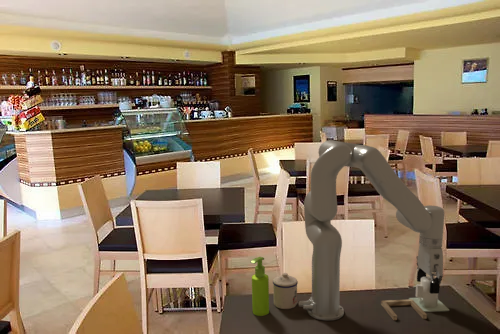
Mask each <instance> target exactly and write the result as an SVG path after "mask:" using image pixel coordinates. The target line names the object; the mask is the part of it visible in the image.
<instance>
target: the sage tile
mask: <svg viewBox="0 0 500 334" xmlns="http://www.w3.org/2000/svg"><path fill="white" fill-rule="evenodd" d="M408 299H412V300H413V301H414V302H415V303H416V304H417V305H418V306H419V307H420V308H421V309H422V310H423V311H424V312H425V313H428V312H431V313H432V312H449V311H450V309H449V308H448V307H447V306H446V305H445V304H444V303H443V302H442V301H440V300H439V299H438V306H437V307H435V308H429V307H425V306H422V305H421V304H420V303H419V301H420V298H417V297H408Z"/></svg>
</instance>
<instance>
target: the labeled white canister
mask: <svg viewBox="0 0 500 334" xmlns="http://www.w3.org/2000/svg"><path fill="white" fill-rule="evenodd" d="M435 278H436V277H434V279H435ZM430 282H431V278H430V276H426V277H422V278H421V282H419V283H420V284H419V283H418V284H415V298H420V301H419V303H420V304H421V305H422V306H425V307H429V308H435V307H437V306H438V300H439V293H437V294H431V293H430ZM440 285H442V282H441V283H440Z"/></svg>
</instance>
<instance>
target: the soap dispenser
mask: <svg viewBox="0 0 500 334" xmlns="http://www.w3.org/2000/svg"><path fill="white" fill-rule="evenodd" d="M264 260H265V257H262V256H258V257H254V258H252V260H250V263H251V264H257V265H255V267H254V274H253V275H251V301H252V302H251V303H252V304H251V305H252V314H253V315H255V316H258V317H263V316H267V315H268V314H269V313H270V293H269V292H270V290H269V289H270V288H269V287H270V285H269V281H270V280H269V275H268V274H266V269H265V265H263V261H264Z"/></svg>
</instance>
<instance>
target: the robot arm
mask: <svg viewBox="0 0 500 334" xmlns="http://www.w3.org/2000/svg"><path fill="white" fill-rule="evenodd" d="M317 153H318V158H317V159H316V161H315V162H314V163H313V166H312V168H311V173H310V191H308V192H307V194H306V195H305V197H304V200H303V211H304V212H303V213H304V227H305V228H304V229H305V234H306V237H307V238H308V240H309V241H310V243H311V244H312V255H311V256H312V257H311V296H309V299H307V300H299V301H298V300H297V306H298V307H302V308H303V310H306V311H307V314H308V315H309V316H311V317H312V318H314V319H317V320H320V321H324V322H325V321H330V322H331V321H336V320H339V319H341V318H342V317H343V316H344V314H345V309H344V307H343V306H342V305H340V290H341V288H340V286H341V285H340V284H341V283H340V279H341V278H340V276H341V275H340V274H341V273H340V272H341V271H340V268H341V264H340V263H341V252H342V247H343V240H342V236H341V234H340V232H339V230H338V229H337V228H336V227H335V226H334V225H333V224H332V223H331V221H332V220H334V219H335V218H336V216H337V213H338V201H337V200H338V199H337V196H338V195H337V177H338V175H339V173H340V171H341V170H342V169H343V168H344V167H346V168H347V167H349V168H356V169H359V170H360V171H361V172H362V173H363V174H364V175H365V177H366V178H367V179H368V181H369V182H370V183H371V185H372V187H373V188H374V189H375V190H376V192H377V193H378V194H379V195H380V196H381V197H382V198H383V199H384V200H385V201H387V202H388V203H390V204H391V205H392V206H393V207H394V208H396V212H395V216H396V219H397V222H398V223H400V224H401V225H403V226H405V227H406V228H408V229H410V230H411V231H413V232H415V233H419V236H418V239H419V242H418V252H417V256H416V265H417V267H416V271H417V272H416V273H417V274H416V281H417V282H418V283H421V278H422V277H427V275H428V276H429V277H430V278H431V282H430V293H431V294H437V293H438V294H440V289H441V288H440V286H441V284H442V280H443V276H444V273H443V272H444V253H443V251H444V250H443V238H444V225H445V210H444V208H443V207H441V206H438V205H429V204H428V205H424V204H423V203H422V201H421V200H420V199H419V197H417V195H416V194H415V193H414V192H413V191H412V190H411V189H410V188H409V187H408V185H406V184H405V183H404V181H403V180H401V178H400V177H399V175H398V174H397V173H396V172H395V170H394V169H393V167H392V166H391V165H390V164H389V162H388V161H387V159H386V158H385V157H384V155H383V154H382V152H381V151H380V150H379V149H377V148H376V147H373V146H369V145H365V144H358V143H357V144H356V143H350V142H345V141H337V140H332V139H329V140H325V141H323V142H322V143H321V145H320V146H319V148H318V152H317ZM434 278H435V279H434ZM440 283H441V284H440Z"/></svg>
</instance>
